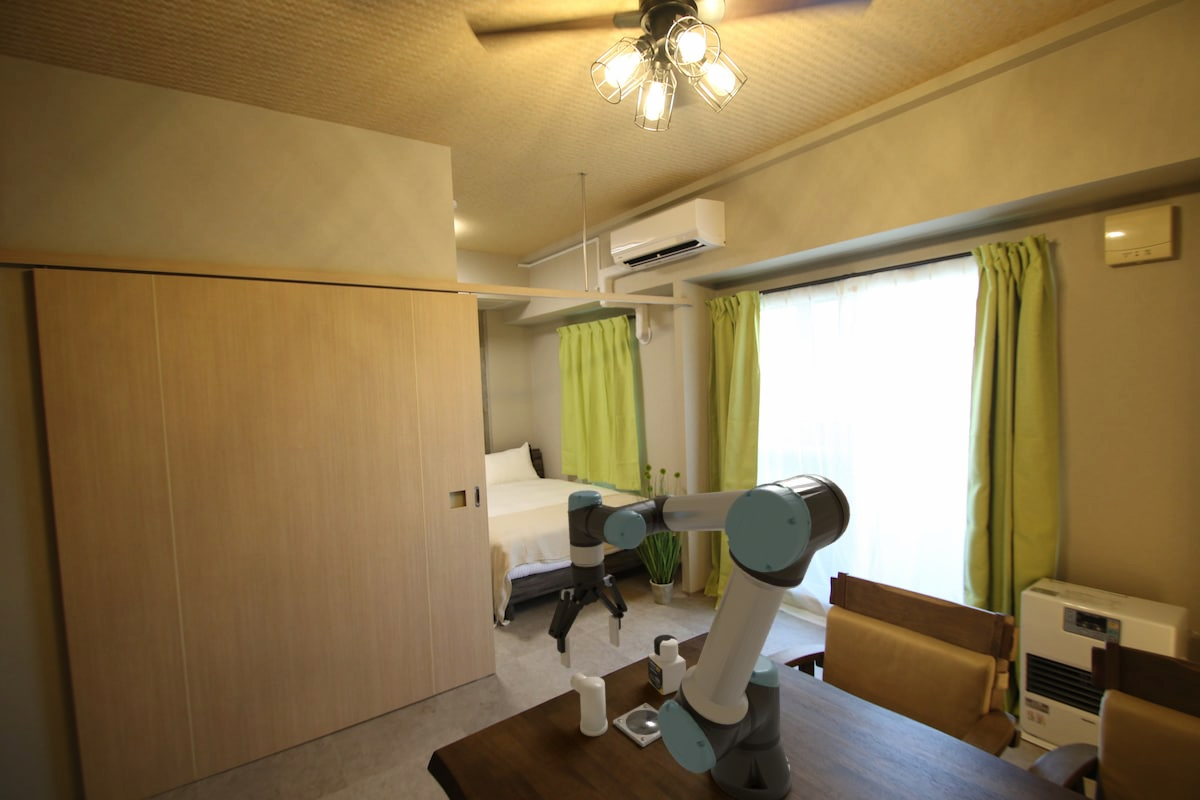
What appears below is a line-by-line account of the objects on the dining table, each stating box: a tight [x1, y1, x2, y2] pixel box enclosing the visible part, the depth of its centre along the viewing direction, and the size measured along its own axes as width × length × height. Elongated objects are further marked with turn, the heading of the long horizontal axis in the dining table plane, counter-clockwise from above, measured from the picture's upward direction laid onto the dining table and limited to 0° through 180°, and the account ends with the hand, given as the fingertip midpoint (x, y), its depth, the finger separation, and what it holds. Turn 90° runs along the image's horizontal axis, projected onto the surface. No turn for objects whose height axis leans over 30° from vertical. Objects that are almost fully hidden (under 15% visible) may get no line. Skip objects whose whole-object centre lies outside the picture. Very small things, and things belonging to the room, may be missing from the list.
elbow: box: [569, 671, 609, 737], centre depth 119 cm, size 9×6×10 cm, turn 37°
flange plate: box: [612, 702, 662, 748], centre depth 118 cm, size 10×10×1 cm
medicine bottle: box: [647, 634, 687, 696], centre depth 133 cm, size 7×7×12 cm
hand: (591, 654), depth 118 cm, fingers open, 13 cm apart
